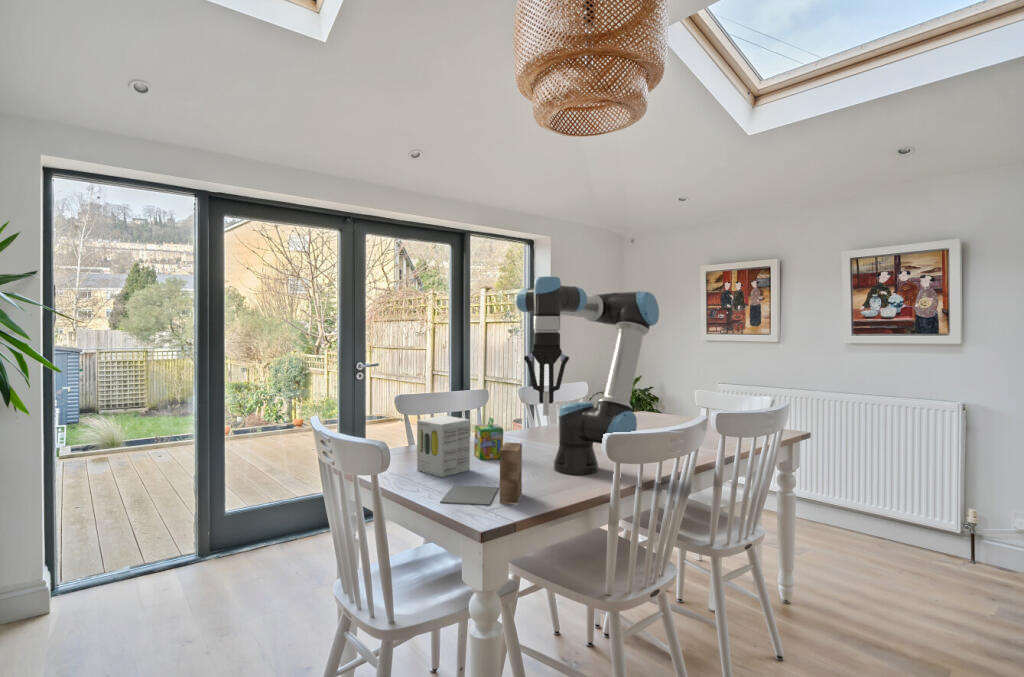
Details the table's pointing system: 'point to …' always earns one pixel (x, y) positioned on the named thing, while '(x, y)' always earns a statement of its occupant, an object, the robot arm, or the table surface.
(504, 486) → the walnut block
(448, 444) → the supplement box
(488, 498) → the mat
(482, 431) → the chalk box
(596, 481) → the table surface
